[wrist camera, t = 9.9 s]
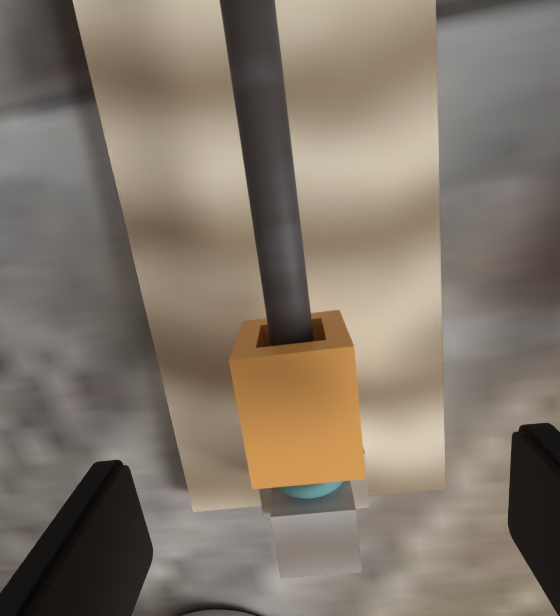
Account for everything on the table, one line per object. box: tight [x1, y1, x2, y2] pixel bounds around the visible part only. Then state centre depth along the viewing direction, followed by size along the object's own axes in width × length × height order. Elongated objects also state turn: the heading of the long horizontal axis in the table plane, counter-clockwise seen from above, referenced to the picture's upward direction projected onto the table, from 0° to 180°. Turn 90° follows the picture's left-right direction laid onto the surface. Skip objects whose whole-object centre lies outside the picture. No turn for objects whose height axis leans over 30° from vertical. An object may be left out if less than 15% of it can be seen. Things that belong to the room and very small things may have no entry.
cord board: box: [72, 0, 445, 578], centre depth 15 cm, size 30×14×9 cm, turn 8°
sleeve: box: [229, 310, 366, 489], centre depth 15 cm, size 5×4×4 cm
